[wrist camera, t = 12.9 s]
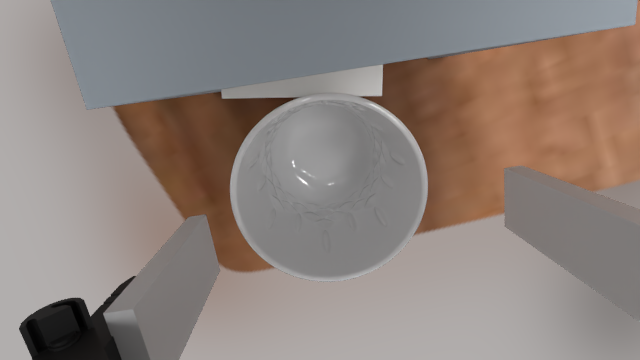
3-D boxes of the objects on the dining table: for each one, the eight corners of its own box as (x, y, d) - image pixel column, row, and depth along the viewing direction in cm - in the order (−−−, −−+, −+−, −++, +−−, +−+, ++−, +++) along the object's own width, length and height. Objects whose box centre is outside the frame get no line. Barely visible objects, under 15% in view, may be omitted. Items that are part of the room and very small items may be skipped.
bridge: (189, -12, 21) (-3, -160, 8) (442, -51, 20) (663, -267, 8) (212, 92, 22) (86, 109, 9) (446, 56, 22) (635, 24, 9)
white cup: (236, 140, 23) (186, 182, 13) (329, 60, 22) (347, 46, 12) (312, 224, 25) (315, 314, 15) (401, 155, 24) (466, 207, 14)
